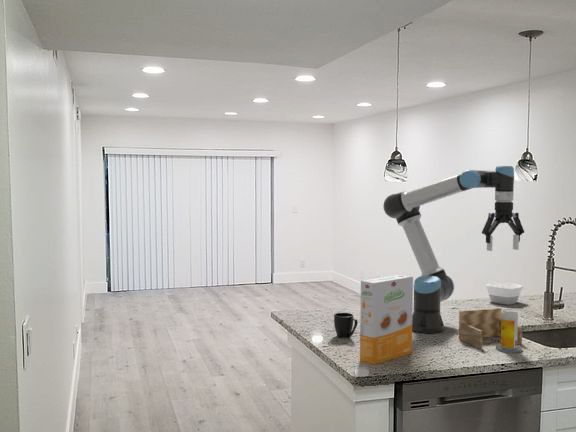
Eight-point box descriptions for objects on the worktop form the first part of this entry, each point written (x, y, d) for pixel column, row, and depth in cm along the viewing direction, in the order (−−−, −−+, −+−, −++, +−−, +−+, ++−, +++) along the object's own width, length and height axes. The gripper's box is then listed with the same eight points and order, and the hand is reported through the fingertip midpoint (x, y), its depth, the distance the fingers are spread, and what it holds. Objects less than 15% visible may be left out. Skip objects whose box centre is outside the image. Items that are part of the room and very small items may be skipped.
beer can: (503, 344, 236) (504, 308, 235) (519, 347, 232) (520, 310, 231) (498, 348, 231) (499, 310, 230) (514, 351, 227) (515, 313, 226)
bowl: (497, 297, 334) (498, 281, 333) (527, 302, 320) (527, 285, 319) (480, 301, 322) (481, 284, 321) (510, 307, 309) (511, 289, 308)
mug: (348, 342, 241) (348, 319, 240) (330, 335, 251) (330, 314, 250) (363, 339, 246) (363, 317, 245) (344, 333, 255) (344, 311, 255)
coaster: (506, 354, 225) (506, 352, 225) (490, 347, 235) (490, 345, 235) (528, 351, 228) (528, 350, 228) (511, 344, 238) (511, 343, 238)
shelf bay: (479, 348, 233) (480, 318, 232) (458, 338, 247) (459, 310, 246) (521, 344, 239) (522, 315, 238) (499, 335, 253) (499, 307, 252)
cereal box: (399, 349, 231) (400, 274, 229) (411, 352, 226) (413, 276, 225) (360, 360, 217) (360, 280, 215) (372, 364, 212) (373, 283, 210)
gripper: (485, 202, 245) (483, 252, 247) (533, 201, 253) (532, 250, 254) (474, 201, 252) (473, 250, 254) (521, 200, 260) (520, 248, 261)
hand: (502, 250), depth 254 cm, fingers open, 13 cm apart
